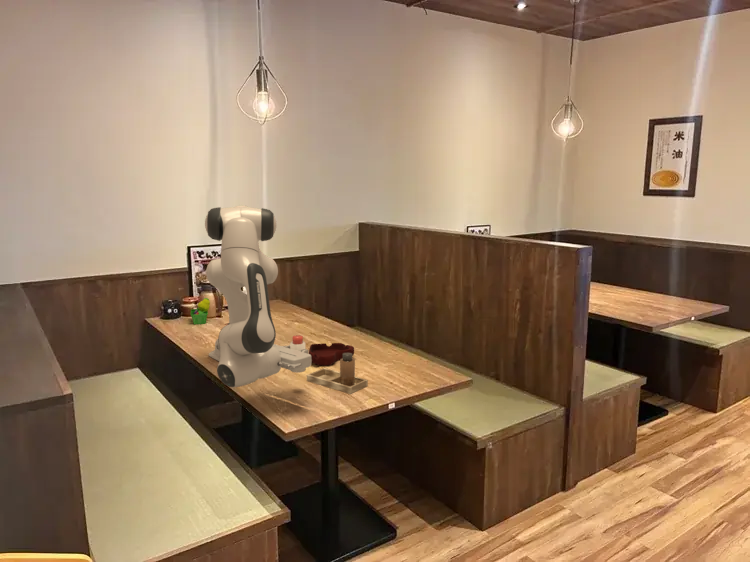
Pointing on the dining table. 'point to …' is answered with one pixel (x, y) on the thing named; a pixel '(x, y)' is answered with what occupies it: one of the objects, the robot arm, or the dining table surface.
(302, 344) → the white shaker
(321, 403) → the dining table surface
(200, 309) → the fruit basket
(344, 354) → the brown soy bottle
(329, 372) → the caddy
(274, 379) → the dining table surface
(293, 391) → the dining table surface
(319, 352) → the ashtray
